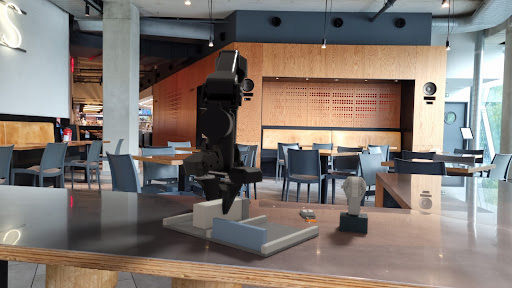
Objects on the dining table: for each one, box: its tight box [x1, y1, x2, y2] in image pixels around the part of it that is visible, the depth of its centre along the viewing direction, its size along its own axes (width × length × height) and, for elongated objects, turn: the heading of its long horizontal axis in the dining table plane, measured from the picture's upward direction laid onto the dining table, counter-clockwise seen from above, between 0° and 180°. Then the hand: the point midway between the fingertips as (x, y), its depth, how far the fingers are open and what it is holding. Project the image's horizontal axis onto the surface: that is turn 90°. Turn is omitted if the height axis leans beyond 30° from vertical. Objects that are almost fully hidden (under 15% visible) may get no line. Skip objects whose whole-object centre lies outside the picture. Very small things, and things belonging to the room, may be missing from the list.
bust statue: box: [338, 175, 369, 235], centre depth 78 cm, size 6×8×11 cm
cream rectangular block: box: [192, 195, 250, 229], centre depth 79 cm, size 13×4×4 cm, turn 141°
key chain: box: [299, 209, 318, 224], centre depth 86 cm, size 13×4×2 cm, turn 1°
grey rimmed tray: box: [162, 212, 320, 258], centre depth 74 cm, size 17×26×4 cm, turn 51°
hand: (218, 212), depth 79 cm, fingers closed on cream rectangular block, 3 cm apart
